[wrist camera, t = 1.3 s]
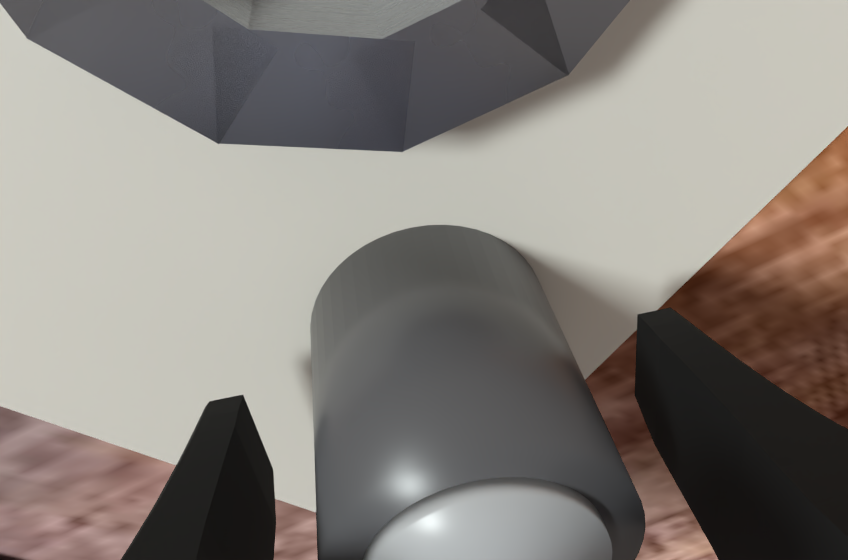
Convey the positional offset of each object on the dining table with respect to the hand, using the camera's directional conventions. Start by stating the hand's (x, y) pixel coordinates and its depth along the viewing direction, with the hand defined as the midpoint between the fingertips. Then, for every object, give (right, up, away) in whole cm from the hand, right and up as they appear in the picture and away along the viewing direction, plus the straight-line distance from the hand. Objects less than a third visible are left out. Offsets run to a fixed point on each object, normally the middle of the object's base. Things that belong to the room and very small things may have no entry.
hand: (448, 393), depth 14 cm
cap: (0, +1, +2) cm, 2 cm away
